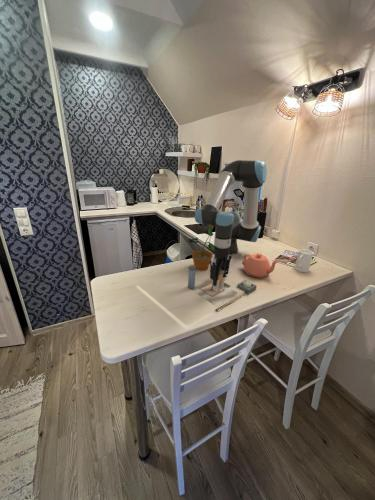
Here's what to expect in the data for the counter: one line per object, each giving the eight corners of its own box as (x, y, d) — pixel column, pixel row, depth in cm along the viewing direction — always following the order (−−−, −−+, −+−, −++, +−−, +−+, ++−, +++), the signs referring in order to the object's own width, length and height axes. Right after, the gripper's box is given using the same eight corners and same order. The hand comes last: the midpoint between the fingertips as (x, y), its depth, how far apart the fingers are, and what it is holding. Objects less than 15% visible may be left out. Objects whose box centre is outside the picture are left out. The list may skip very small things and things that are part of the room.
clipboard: (183, 288, 115) (183, 286, 114) (209, 276, 127) (209, 274, 127) (217, 311, 98) (217, 309, 98) (244, 295, 111) (244, 293, 110)
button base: (236, 288, 117) (237, 284, 116) (244, 284, 121) (245, 280, 120) (248, 294, 112) (248, 290, 111) (255, 289, 116) (256, 285, 115)
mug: (301, 274, 133) (306, 256, 128) (288, 269, 139) (292, 251, 134) (311, 270, 139) (316, 252, 134) (299, 264, 145) (303, 247, 141)
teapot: (281, 275, 131) (285, 256, 126) (268, 285, 120) (272, 264, 116) (248, 263, 145) (250, 245, 140) (234, 271, 135) (237, 252, 130)
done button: (240, 287, 116) (241, 282, 115) (245, 285, 119) (246, 280, 118) (247, 291, 113) (248, 286, 112) (252, 288, 116) (253, 283, 115)
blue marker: (186, 287, 114) (187, 266, 110) (191, 284, 116) (192, 264, 112) (191, 290, 112) (192, 269, 107) (195, 287, 114) (197, 267, 109)
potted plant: (221, 268, 137) (226, 221, 125) (202, 279, 124) (206, 228, 112) (199, 259, 148) (202, 216, 136) (180, 269, 135) (181, 221, 123)
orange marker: (209, 287, 113) (215, 269, 106) (213, 285, 115) (220, 267, 109) (214, 291, 111) (221, 274, 104) (218, 289, 113) (225, 271, 107)
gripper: (216, 252, 94) (212, 298, 103) (239, 244, 104) (234, 286, 114) (203, 247, 100) (201, 291, 109) (227, 239, 110) (223, 280, 119)
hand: (218, 289), depth 111 cm, fingers closed on orange marker, 3 cm apart
